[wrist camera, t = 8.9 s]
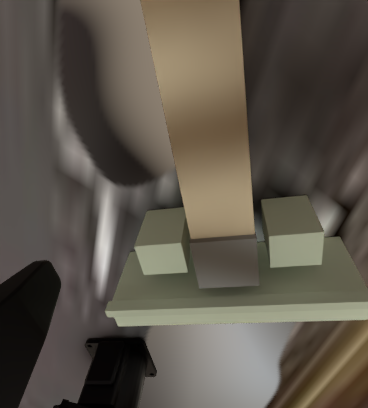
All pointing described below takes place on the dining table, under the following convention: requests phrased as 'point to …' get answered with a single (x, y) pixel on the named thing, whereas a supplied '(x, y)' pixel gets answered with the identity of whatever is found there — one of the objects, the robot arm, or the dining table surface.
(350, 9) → the dining table surface
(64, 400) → the robot arm
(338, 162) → the dining table surface
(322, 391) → the dining table surface
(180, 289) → the grey block
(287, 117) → the dining table surface
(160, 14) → the rail
